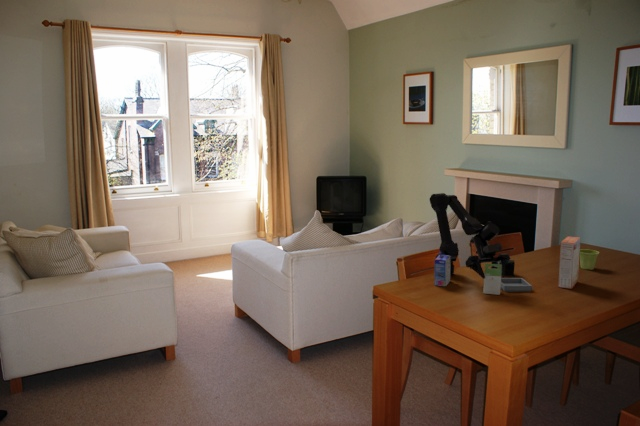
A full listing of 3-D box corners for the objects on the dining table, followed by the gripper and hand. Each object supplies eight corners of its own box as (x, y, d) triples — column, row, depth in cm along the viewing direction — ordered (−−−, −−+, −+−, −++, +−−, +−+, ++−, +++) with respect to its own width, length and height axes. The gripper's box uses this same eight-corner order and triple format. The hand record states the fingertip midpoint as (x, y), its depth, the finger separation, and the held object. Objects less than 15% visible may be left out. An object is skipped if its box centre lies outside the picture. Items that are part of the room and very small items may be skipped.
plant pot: (601, 269, 271) (603, 252, 270) (591, 271, 266) (592, 254, 265) (583, 264, 279) (584, 248, 277) (573, 267, 274) (574, 250, 272)
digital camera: (490, 275, 261) (491, 261, 260) (490, 272, 266) (491, 258, 265) (513, 277, 258) (514, 262, 257) (513, 274, 263) (514, 260, 262)
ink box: (500, 292, 235) (502, 262, 232) (500, 295, 231) (501, 264, 229) (483, 291, 237) (485, 261, 235) (483, 293, 233) (484, 263, 231)
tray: (504, 291, 236) (504, 286, 235) (495, 283, 248) (495, 278, 247) (531, 291, 236) (532, 285, 235) (521, 283, 248) (522, 278, 247)
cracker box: (563, 279, 253) (567, 235, 250) (578, 281, 250) (581, 237, 246) (557, 287, 242) (560, 241, 238) (571, 289, 238) (575, 242, 235)
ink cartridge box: (438, 279, 254) (439, 249, 252) (450, 281, 252) (451, 250, 250) (433, 285, 245) (434, 254, 243) (445, 286, 243) (446, 255, 241)
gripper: (469, 237, 232) (481, 269, 223) (509, 235, 236) (522, 266, 227) (460, 251, 241) (471, 282, 232) (498, 249, 245) (511, 279, 236)
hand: (494, 277), depth 231 cm, fingers open, 9 cm apart
